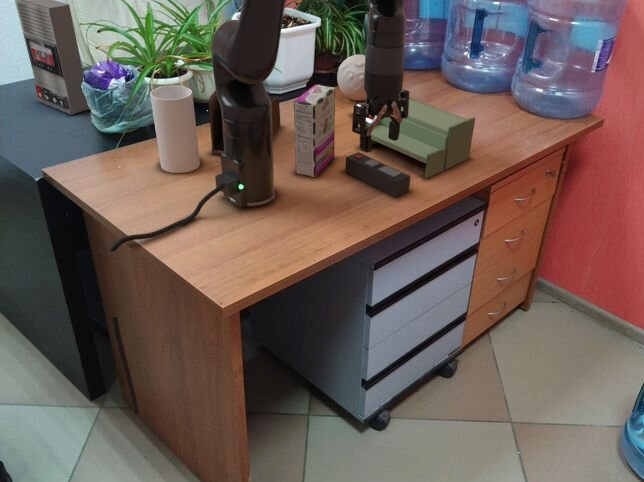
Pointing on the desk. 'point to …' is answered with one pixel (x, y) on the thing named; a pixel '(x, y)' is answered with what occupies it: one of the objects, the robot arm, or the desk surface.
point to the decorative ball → (352, 77)
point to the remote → (377, 174)
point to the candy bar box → (314, 130)
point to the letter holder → (217, 122)
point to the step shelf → (429, 136)
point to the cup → (175, 128)
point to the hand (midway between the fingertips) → (379, 145)
